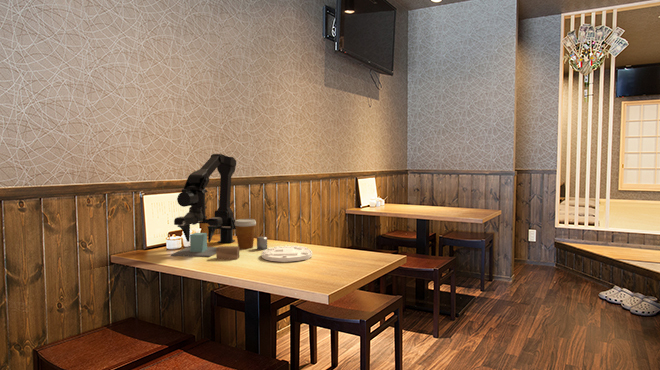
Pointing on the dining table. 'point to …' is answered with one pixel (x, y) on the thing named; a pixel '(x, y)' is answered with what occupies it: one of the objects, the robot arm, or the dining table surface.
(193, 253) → the slate mat
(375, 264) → the dining table surface
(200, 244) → the teal block
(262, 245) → the metal canister
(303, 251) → the white round plaque
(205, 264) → the dining table surface
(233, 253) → the walnut block
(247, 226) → the disposable coffee cup
